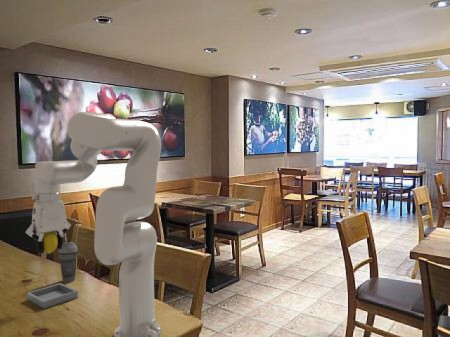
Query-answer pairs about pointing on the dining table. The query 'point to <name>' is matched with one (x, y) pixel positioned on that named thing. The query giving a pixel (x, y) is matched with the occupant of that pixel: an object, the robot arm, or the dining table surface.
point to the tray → (52, 295)
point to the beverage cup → (68, 260)
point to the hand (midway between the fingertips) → (49, 249)
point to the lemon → (50, 242)
